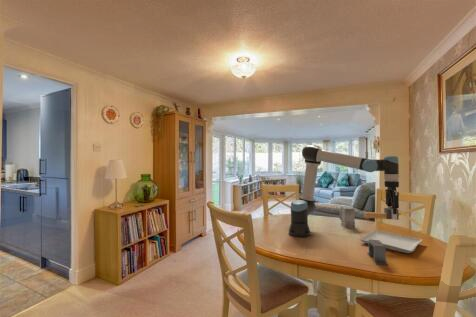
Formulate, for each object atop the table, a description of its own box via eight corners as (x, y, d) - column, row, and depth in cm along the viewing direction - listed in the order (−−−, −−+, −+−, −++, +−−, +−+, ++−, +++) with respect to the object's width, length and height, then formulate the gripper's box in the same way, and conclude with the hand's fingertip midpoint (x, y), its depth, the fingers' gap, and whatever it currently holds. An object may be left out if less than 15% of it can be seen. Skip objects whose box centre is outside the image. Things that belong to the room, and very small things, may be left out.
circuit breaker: (348, 223, 190) (347, 205, 190) (355, 227, 176) (354, 208, 176) (338, 222, 191) (338, 205, 191) (345, 227, 177) (344, 208, 177)
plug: (366, 218, 143) (366, 208, 143) (363, 216, 148) (363, 207, 148) (401, 219, 138) (401, 209, 138) (397, 217, 143) (397, 208, 143)
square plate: (374, 234, 161) (374, 229, 161) (423, 245, 140) (423, 238, 140) (359, 244, 143) (359, 238, 143) (413, 257, 122) (412, 250, 122)
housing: (376, 264, 114) (376, 247, 114) (367, 253, 127) (367, 238, 127) (387, 265, 113) (387, 247, 113) (377, 254, 126) (377, 238, 126)
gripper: (405, 182, 132) (406, 222, 132) (392, 179, 150) (392, 214, 149) (390, 181, 134) (391, 221, 134) (379, 179, 151) (380, 214, 151)
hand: (392, 217), depth 141 cm, fingers closed on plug, 5 cm apart
